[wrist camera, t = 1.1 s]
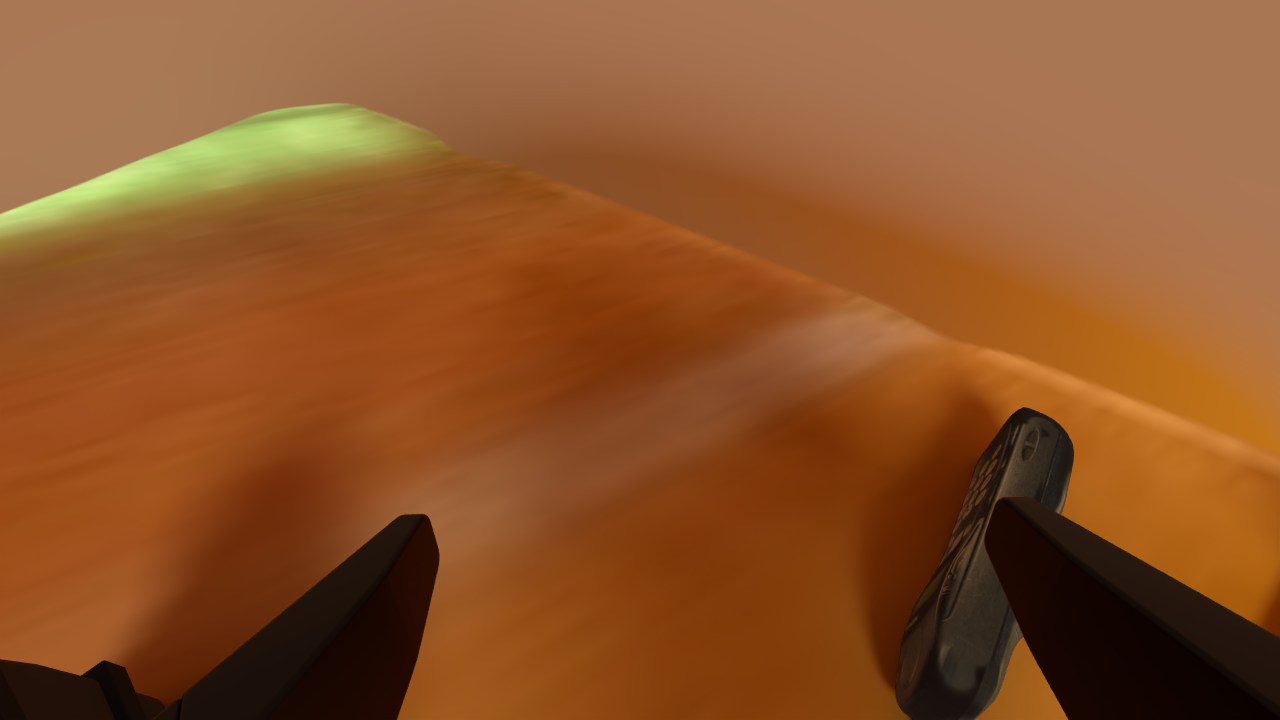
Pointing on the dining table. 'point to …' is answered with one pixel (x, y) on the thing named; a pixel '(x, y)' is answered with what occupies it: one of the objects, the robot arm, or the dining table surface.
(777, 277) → the dining table surface
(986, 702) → the mobile phone
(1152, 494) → the dining table surface
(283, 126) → the dining table surface
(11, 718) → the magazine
